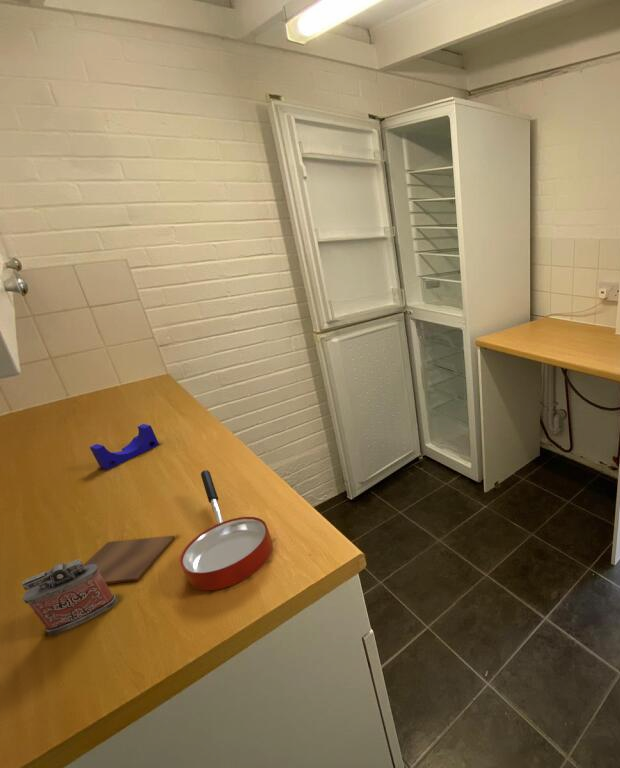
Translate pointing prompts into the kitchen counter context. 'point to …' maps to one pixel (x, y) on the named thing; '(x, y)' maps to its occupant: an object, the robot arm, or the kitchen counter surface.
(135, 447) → the blue notched block
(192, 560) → the frying pan
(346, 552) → the kitchen counter surface
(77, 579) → the lighter
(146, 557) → the plate
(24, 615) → the kitchen counter surface
